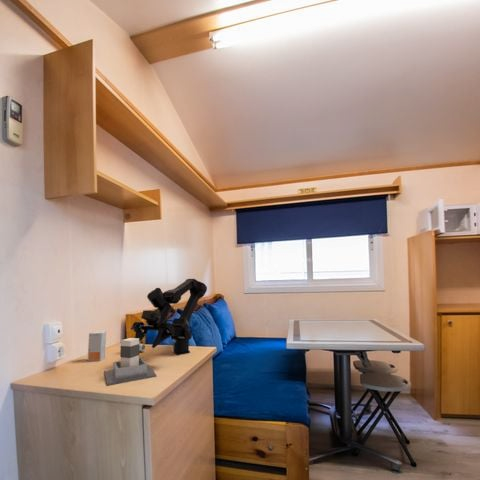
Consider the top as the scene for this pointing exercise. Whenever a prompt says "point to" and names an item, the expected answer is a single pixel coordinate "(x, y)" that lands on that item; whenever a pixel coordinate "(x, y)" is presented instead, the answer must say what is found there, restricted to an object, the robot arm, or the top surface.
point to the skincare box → (96, 346)
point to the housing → (128, 373)
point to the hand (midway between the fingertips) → (143, 346)
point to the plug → (129, 352)
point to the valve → (142, 346)
